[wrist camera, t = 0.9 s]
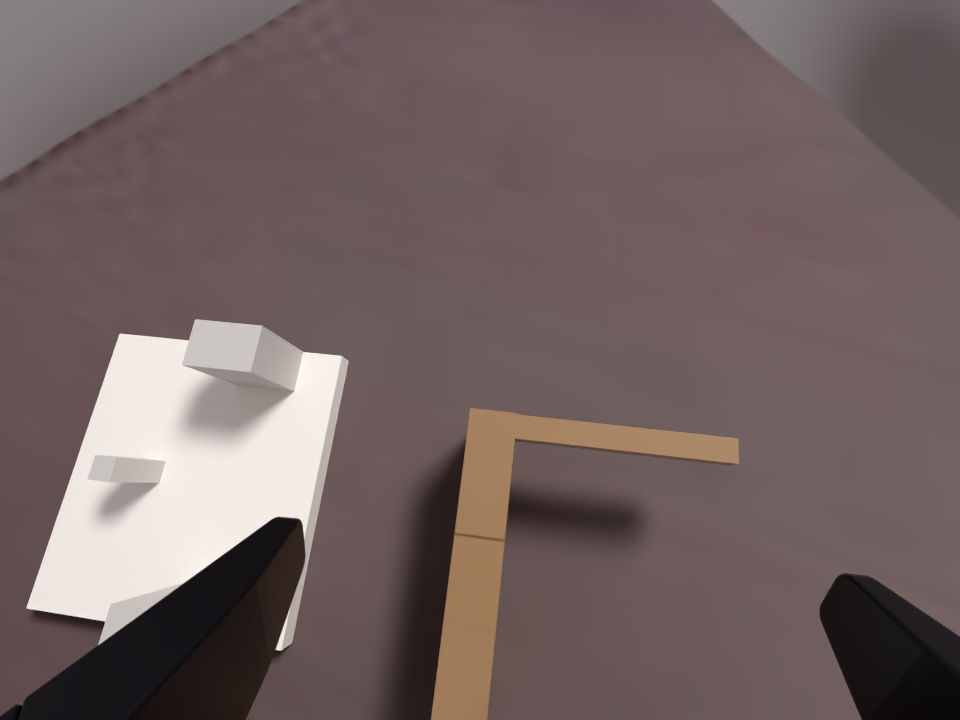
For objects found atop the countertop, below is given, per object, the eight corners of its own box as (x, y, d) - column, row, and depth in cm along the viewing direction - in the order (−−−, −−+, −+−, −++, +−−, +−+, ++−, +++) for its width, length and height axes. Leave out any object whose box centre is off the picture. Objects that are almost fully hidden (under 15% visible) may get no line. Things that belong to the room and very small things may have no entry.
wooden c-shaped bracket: (687, 448, 21) (738, 437, 17) (686, 751, 18) (748, 845, 13) (479, 424, 22) (470, 408, 17) (445, 709, 19) (422, 783, 14)
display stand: (348, 361, 24) (308, 330, 19) (292, 643, 20) (225, 690, 16) (135, 339, 25) (46, 305, 20) (48, 602, 21) (-83, 635, 17)
